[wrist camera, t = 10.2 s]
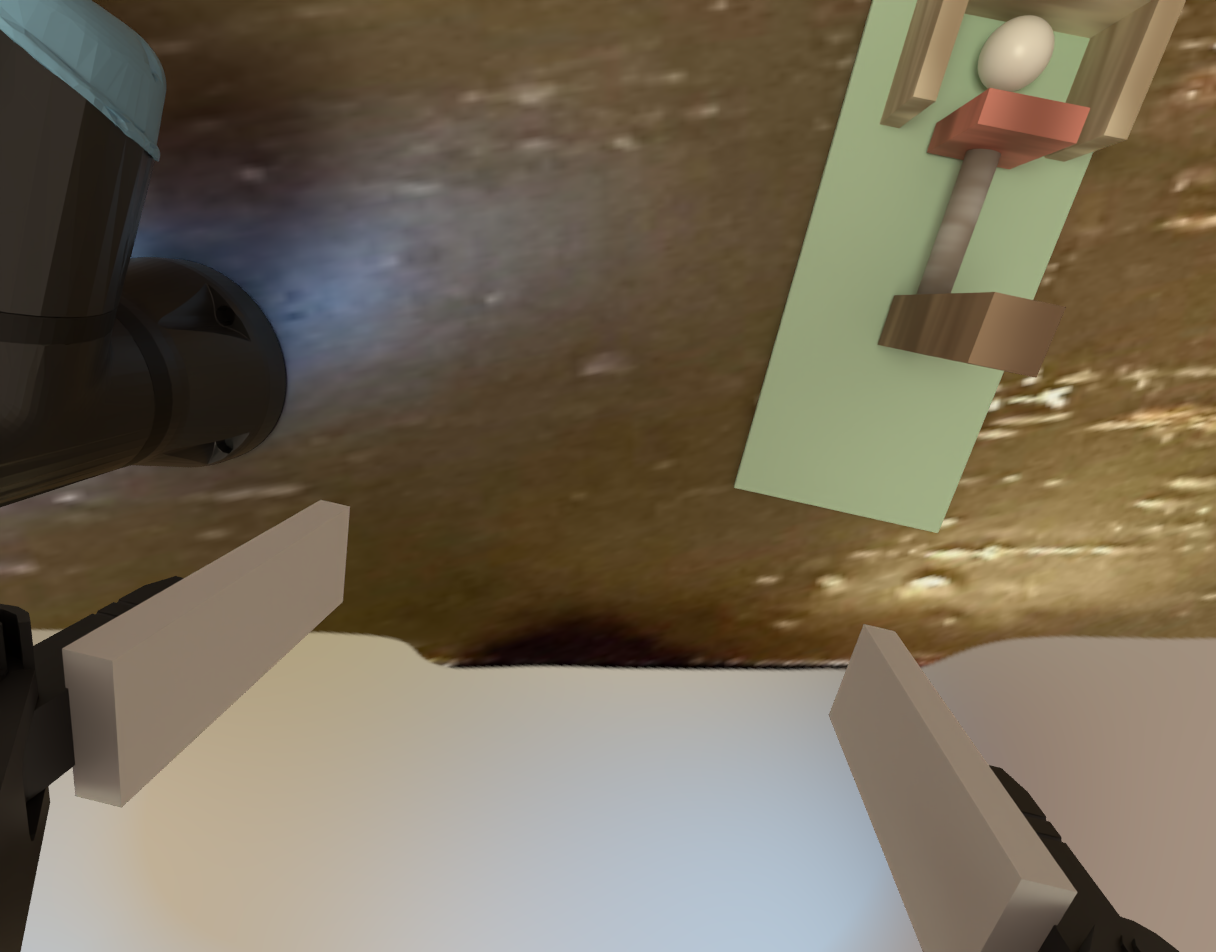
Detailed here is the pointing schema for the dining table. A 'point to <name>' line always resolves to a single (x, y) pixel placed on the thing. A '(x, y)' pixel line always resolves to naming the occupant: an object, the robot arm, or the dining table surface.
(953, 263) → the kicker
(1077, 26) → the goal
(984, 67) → the ball
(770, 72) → the dining table surface
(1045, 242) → the mat
